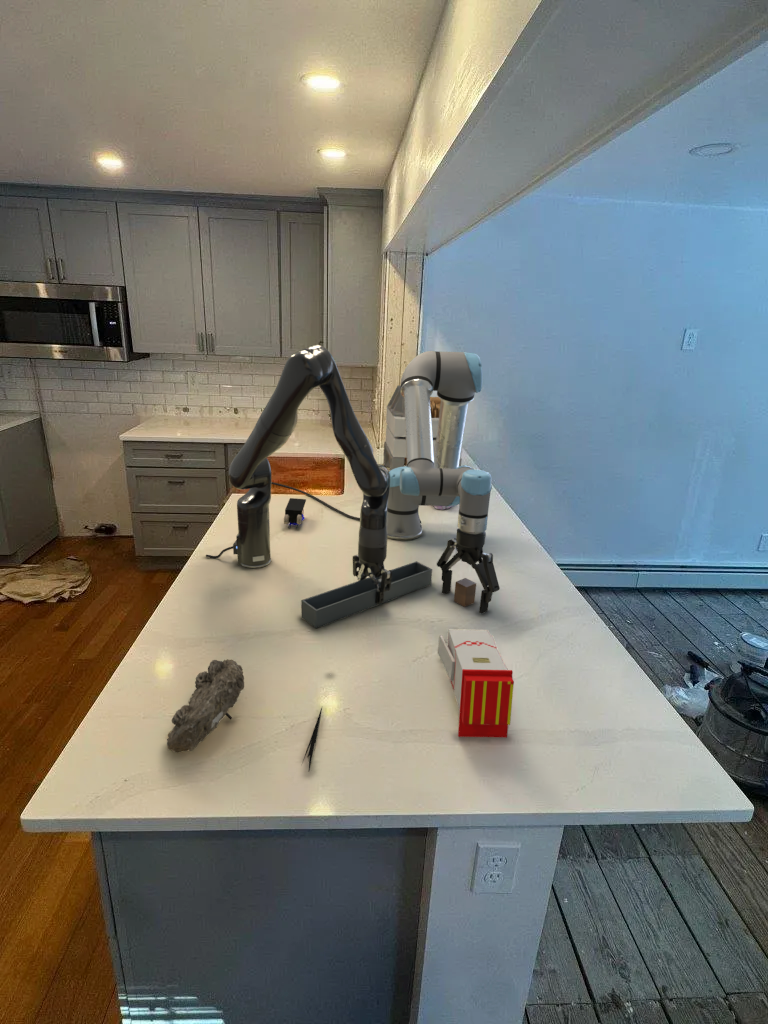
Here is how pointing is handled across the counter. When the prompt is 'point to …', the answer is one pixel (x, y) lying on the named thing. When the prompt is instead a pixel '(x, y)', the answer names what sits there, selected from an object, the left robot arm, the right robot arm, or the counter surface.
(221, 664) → the fossil
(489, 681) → the toy
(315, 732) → the feather
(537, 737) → the counter surface
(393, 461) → the white crate
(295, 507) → the figurine character
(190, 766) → the counter surface
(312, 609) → the trough
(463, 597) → the walnut block
